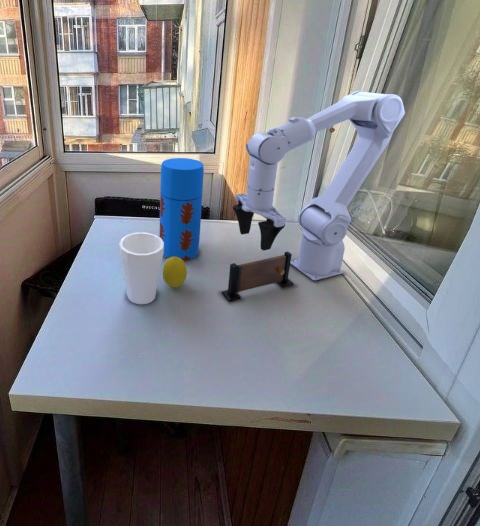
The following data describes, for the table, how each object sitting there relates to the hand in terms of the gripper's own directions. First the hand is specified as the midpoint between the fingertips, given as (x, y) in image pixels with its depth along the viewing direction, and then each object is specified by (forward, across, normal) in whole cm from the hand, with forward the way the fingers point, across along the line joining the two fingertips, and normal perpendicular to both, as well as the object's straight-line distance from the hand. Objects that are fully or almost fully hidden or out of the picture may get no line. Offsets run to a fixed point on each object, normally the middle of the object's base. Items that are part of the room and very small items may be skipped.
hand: (254, 240), depth 78 cm
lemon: (+10, -2, -20) cm, 22 cm away
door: (+8, +5, -2) cm, 10 cm away
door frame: (+9, +5, -2) cm, 11 cm away
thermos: (+10, -16, -12) cm, 22 cm away
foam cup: (+10, -2, -28) cm, 29 cm away
